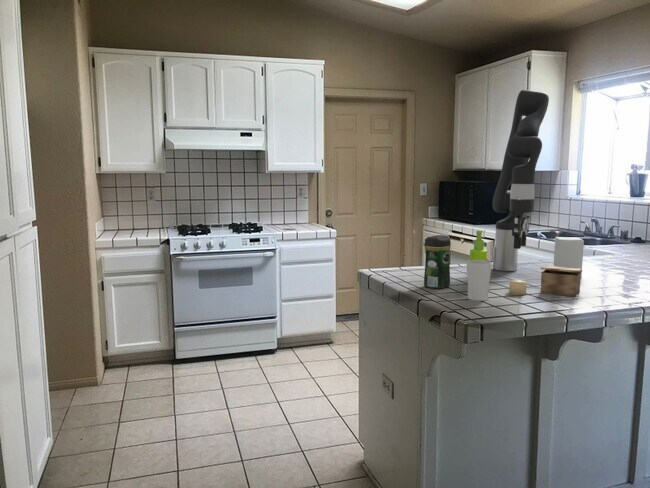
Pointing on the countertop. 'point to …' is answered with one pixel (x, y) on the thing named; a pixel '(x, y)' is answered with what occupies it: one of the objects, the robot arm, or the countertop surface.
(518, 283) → the domed cream knob
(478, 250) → the soap dispenser
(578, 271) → the lid
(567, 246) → the supplement box
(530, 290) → the countertop surface
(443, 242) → the coffee jar
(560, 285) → the box
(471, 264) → the cup
